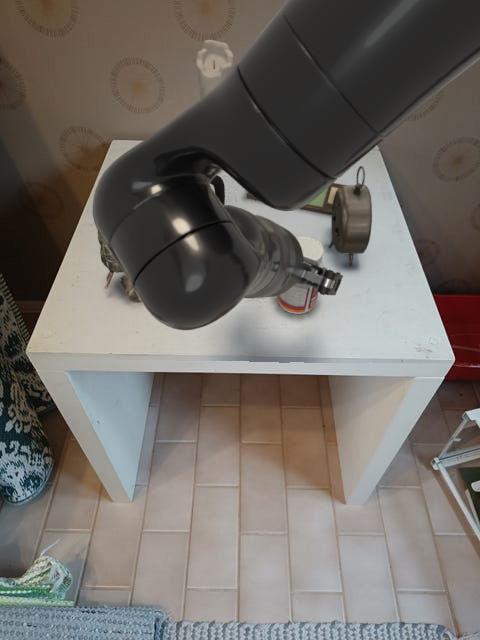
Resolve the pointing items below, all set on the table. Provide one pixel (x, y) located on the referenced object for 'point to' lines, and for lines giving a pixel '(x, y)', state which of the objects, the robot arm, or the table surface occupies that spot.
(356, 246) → the alarm clock
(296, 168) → the robot arm
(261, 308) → the table surface
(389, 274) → the table surface
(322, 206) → the board
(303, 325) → the table surface
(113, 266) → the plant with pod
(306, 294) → the pill bottle
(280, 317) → the table surface
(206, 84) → the candle
